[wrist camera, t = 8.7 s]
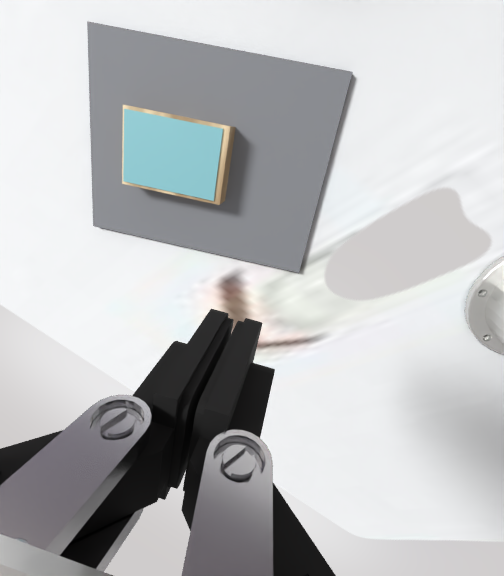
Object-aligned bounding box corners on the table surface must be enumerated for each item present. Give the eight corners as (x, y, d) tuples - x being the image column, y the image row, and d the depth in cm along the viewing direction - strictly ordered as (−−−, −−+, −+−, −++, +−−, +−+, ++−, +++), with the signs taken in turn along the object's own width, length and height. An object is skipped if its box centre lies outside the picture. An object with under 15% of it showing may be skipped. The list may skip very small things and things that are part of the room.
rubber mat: (351, 73, 29) (352, 71, 28) (299, 270, 37) (298, 272, 37) (91, 23, 30) (87, 21, 30) (96, 224, 38) (93, 226, 38)
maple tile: (229, 126, 29) (122, 104, 30) (219, 205, 32) (121, 183, 33) (235, 127, 31) (135, 106, 32) (224, 200, 34) (133, 180, 35)
